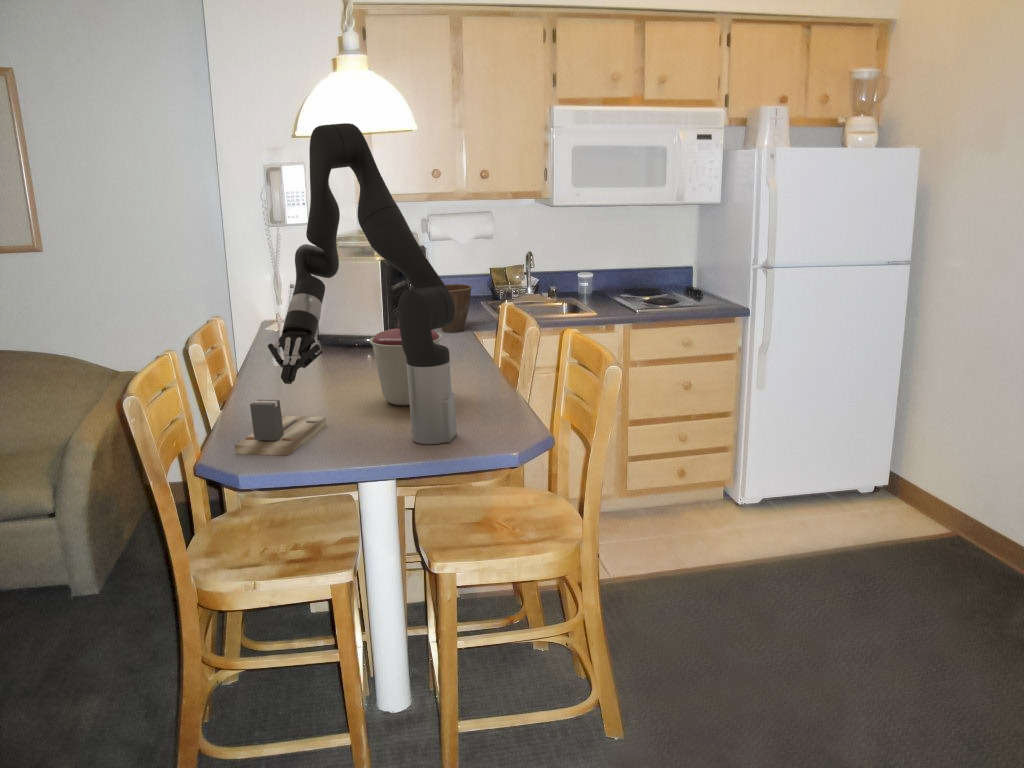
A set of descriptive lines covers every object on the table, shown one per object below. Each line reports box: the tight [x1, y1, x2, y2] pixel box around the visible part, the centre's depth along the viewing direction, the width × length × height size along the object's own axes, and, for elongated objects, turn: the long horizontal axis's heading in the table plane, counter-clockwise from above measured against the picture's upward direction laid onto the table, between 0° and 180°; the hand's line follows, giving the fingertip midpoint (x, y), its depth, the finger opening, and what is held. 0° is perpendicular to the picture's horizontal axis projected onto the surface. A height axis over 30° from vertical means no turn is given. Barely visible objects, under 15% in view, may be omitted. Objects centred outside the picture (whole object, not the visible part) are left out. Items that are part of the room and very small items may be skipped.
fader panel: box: [234, 415, 327, 456], centre depth 174 cm, size 12×20×2 cm, turn 170°
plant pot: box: [441, 283, 472, 334], centre depth 283 cm, size 15×15×16 cm
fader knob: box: [249, 399, 284, 441], centre depth 167 cm, size 5×4×8 cm
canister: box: [369, 322, 443, 407], centre depth 197 cm, size 18×18×21 cm
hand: (286, 382), depth 175 cm, fingers closed
